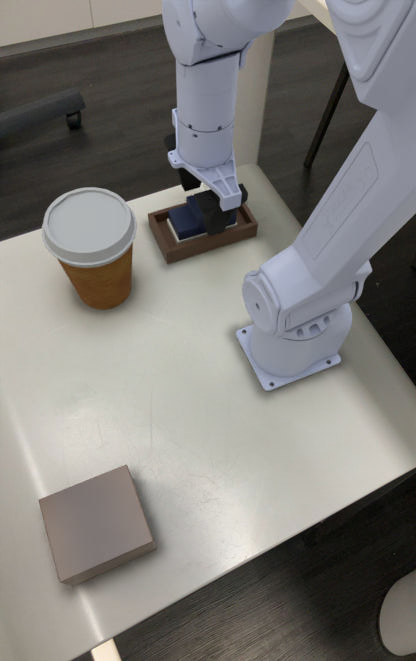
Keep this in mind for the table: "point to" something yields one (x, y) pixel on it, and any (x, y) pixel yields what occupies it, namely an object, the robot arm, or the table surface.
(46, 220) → the disposable coffee cup
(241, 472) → the table surface
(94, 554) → the grey brown block
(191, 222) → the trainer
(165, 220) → the brown wooden tray
